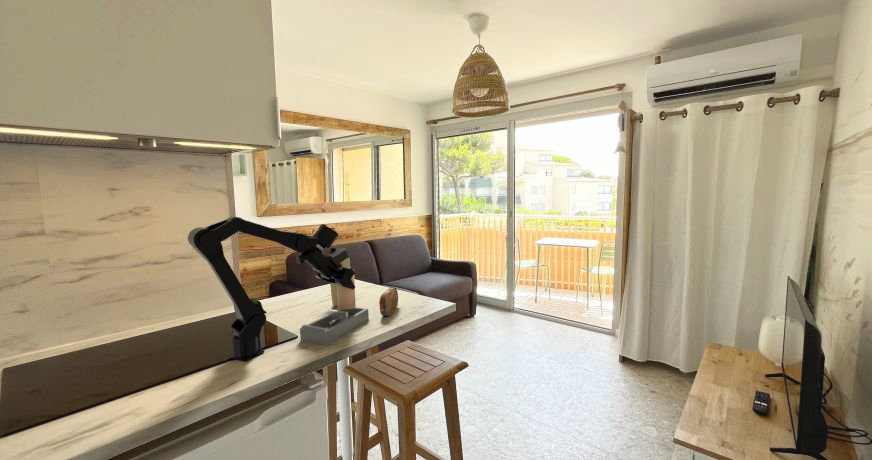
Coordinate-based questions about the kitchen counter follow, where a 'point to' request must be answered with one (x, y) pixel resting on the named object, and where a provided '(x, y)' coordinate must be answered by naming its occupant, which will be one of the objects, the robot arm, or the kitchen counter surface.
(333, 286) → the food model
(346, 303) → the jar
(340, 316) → the pusher
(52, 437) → the kitchen counter surface
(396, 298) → the brown flat rounded slab
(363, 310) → the grey tray
